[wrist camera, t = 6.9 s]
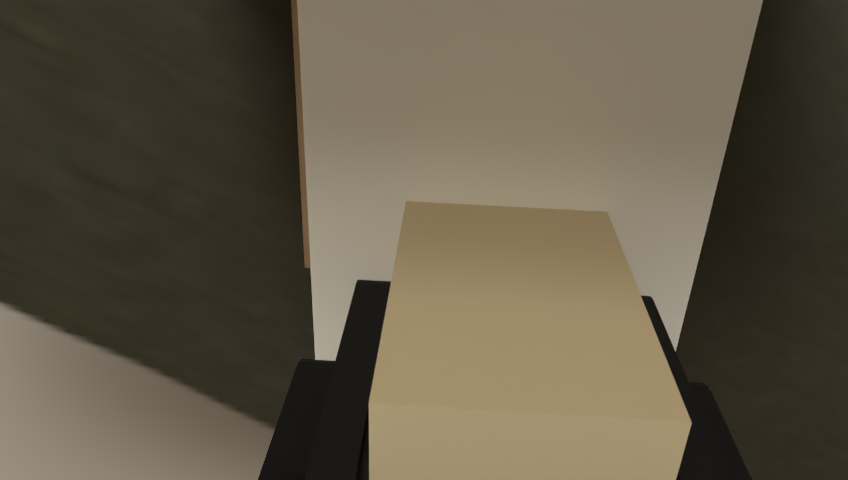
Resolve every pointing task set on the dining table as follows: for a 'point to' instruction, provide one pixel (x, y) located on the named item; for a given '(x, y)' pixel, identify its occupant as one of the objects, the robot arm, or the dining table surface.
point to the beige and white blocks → (517, 220)
